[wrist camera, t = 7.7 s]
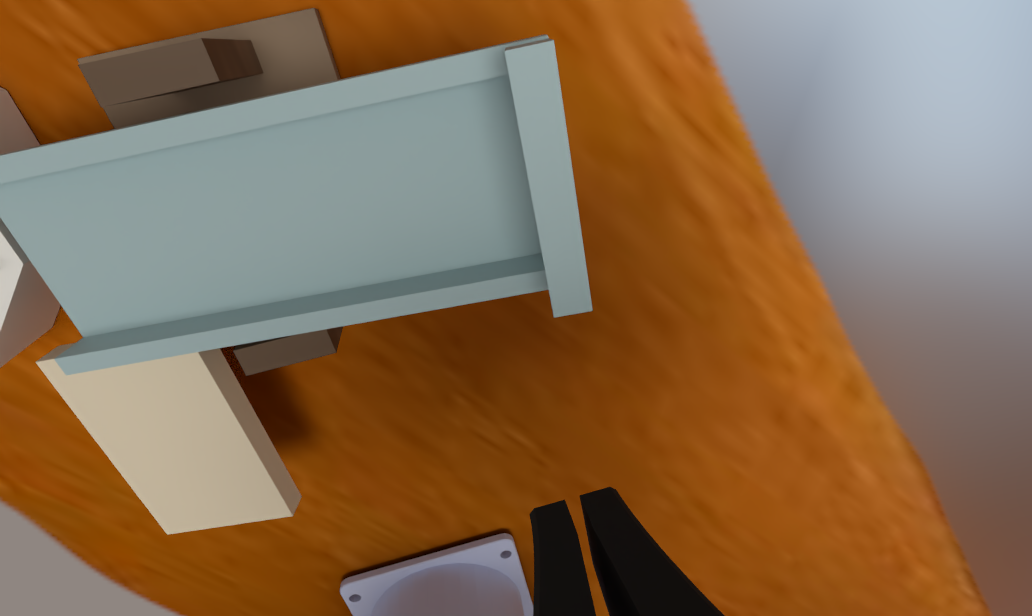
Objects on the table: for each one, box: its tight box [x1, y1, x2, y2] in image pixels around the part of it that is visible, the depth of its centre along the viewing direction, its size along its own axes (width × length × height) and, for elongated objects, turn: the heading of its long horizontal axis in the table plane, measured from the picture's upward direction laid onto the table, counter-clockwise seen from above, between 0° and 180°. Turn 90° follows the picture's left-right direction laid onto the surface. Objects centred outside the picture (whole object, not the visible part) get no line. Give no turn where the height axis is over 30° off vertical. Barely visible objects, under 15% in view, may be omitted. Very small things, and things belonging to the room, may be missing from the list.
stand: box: [77, 8, 343, 376], centre depth 14 cm, size 8×6×4 cm
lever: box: [0, 34, 593, 534], centre depth 13 cm, size 12×15×3 cm
